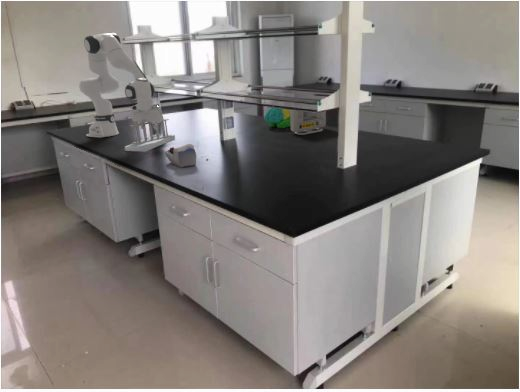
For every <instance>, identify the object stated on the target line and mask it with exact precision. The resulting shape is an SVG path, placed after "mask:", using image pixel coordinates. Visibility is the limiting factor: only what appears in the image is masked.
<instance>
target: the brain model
mask: <svg viewBox="0 0 520 392" xmlns="http://www.w3.org/2000/svg"><path fill="white" fill-rule="evenodd" d="M264 121H265V122H266V123H267V124H268V125H269V126H270V127H272V128H274V127H277V128H278V129H286V128H288V127H290V128H291V123H290V110H287V109H279V108H272V107H271V108H269V109H268V110H267V112H266V113H265V114H264Z"/></svg>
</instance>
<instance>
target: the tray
mask: <svg viewBox="0 0 520 392" xmlns="http://www.w3.org/2000/svg"><path fill="white" fill-rule="evenodd" d="M170 135H171V137H167V138H163V139H159V140H154V141H150V142H146V143H142V144H138V145H136V144H133V143H131V144H129V145H126V146H125V145H124V151H126V152H144V153H145V152H148V151H150V150H153V149H155V148H157V147H160V146H161V145H164V144H166V143H168V142H171V141H173V140H175V139H176V134H170ZM159 136H163V134H160V133H159ZM154 137H157V135H156V134H153V138H154ZM150 138H151V137H150V136H149V137H148V136H147V139H150ZM142 140H145V139H144V138H143V139H142Z"/></svg>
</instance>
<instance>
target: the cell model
mask: <svg viewBox="0 0 520 392" xmlns="http://www.w3.org/2000/svg"><path fill="white" fill-rule="evenodd" d="M164 154H165V157H166V158H167V160H168V161H169V162H170V163H171V164H172V165H175V166H177V167H179V168H184V167H191V166H195V165H197V152H196V150H195V145H193V144H192V143H188V144H185V145H183V146H182V145H181V146H180V147H179V146H178V147H174V146H172V147H169V149H167V150H166V151H165V152H164Z"/></svg>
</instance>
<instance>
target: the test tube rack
mask: <svg viewBox="0 0 520 392" xmlns="http://www.w3.org/2000/svg"><path fill="white" fill-rule="evenodd" d="M167 121H169V118H163V121H162V122H160V125H161V131H162V133H161V134H162V135H163V136H159V134H160V129H159V123H158V124H157V129H155V135H157V137H154V138H153V135H154V132H153V131H154V129H153V125H152V124H154V122H145V121H144V120H142V123H140V124H139V122H138V121H135V122H134V123H135V124H131V125H129V127H132V128H133V134H134V140H135V141H133V142H132V144H136V145H138V144H142V143H146V142H150V141H154V140H159V139H163V138H167V137H171V135H172V134H169V133H168V126H167ZM141 125H142V127H143V129H142V132H143V139H145V140H143V139H142V138H141V133H140V127H141ZM146 125H148V128H149V137H151V138H150V139H147V138H148V135H147V134H148V133H147V126H146Z"/></svg>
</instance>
